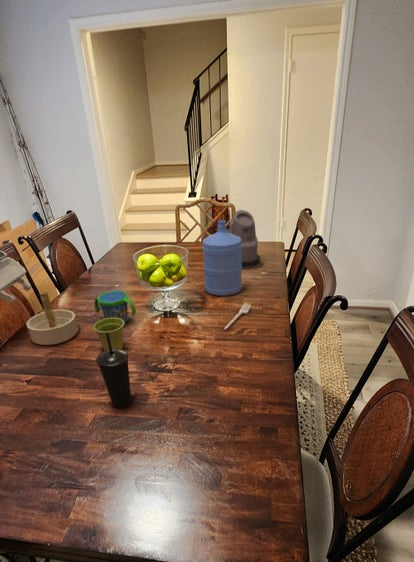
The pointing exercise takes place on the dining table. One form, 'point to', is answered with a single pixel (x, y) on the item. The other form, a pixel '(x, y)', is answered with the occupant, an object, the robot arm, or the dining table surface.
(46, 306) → the wooden pestle
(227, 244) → the water jug
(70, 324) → the bowl
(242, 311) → the fork
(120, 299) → the snack cup
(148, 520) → the dining table surface
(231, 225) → the machine
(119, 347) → the plant pot
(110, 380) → the drinking cup
